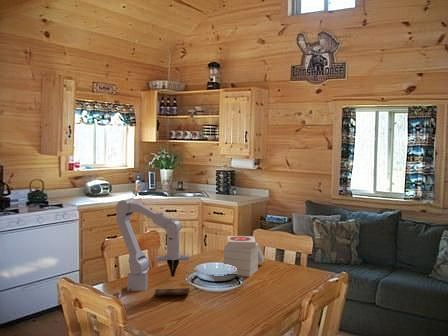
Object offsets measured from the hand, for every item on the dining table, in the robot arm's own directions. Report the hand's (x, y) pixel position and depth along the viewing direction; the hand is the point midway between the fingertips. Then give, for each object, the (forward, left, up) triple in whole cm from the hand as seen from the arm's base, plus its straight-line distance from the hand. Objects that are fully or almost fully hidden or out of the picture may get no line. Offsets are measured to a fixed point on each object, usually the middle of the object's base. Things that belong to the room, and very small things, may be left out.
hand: (172, 276), depth 219 cm
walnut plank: (-1, -5, -7) cm, 8 cm away
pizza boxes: (+42, +41, -10) cm, 59 cm away
